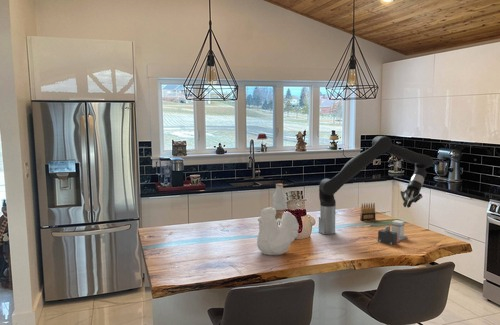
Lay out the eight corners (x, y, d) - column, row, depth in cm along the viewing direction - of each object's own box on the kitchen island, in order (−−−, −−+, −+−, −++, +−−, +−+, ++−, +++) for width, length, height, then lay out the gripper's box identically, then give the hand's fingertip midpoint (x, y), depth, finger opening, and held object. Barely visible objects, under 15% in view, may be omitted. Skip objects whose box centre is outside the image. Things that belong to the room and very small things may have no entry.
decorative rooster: (262, 260, 198) (262, 212, 195) (252, 250, 213) (252, 205, 210) (307, 254, 206) (308, 208, 203) (295, 245, 220) (295, 201, 217)
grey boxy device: (392, 236, 235) (393, 219, 233) (407, 240, 228) (408, 222, 227) (377, 244, 222) (378, 225, 220) (393, 247, 215) (393, 228, 214)
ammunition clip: (361, 220, 270) (361, 203, 269) (360, 220, 272) (360, 203, 271) (375, 219, 273) (375, 202, 271) (374, 219, 275) (374, 202, 273)
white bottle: (269, 225, 261) (269, 183, 258) (281, 223, 265) (282, 182, 262) (276, 229, 252) (276, 185, 249) (289, 227, 257) (289, 184, 253)
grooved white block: (395, 234, 232) (396, 219, 231) (404, 236, 229) (404, 221, 228) (391, 236, 229) (391, 221, 228) (400, 238, 225) (400, 223, 224)
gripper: (403, 178, 243) (393, 201, 236) (425, 181, 234) (416, 204, 227) (406, 185, 248) (396, 208, 241) (428, 188, 238) (419, 212, 231)
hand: (406, 206), depth 234 cm, fingers closed
